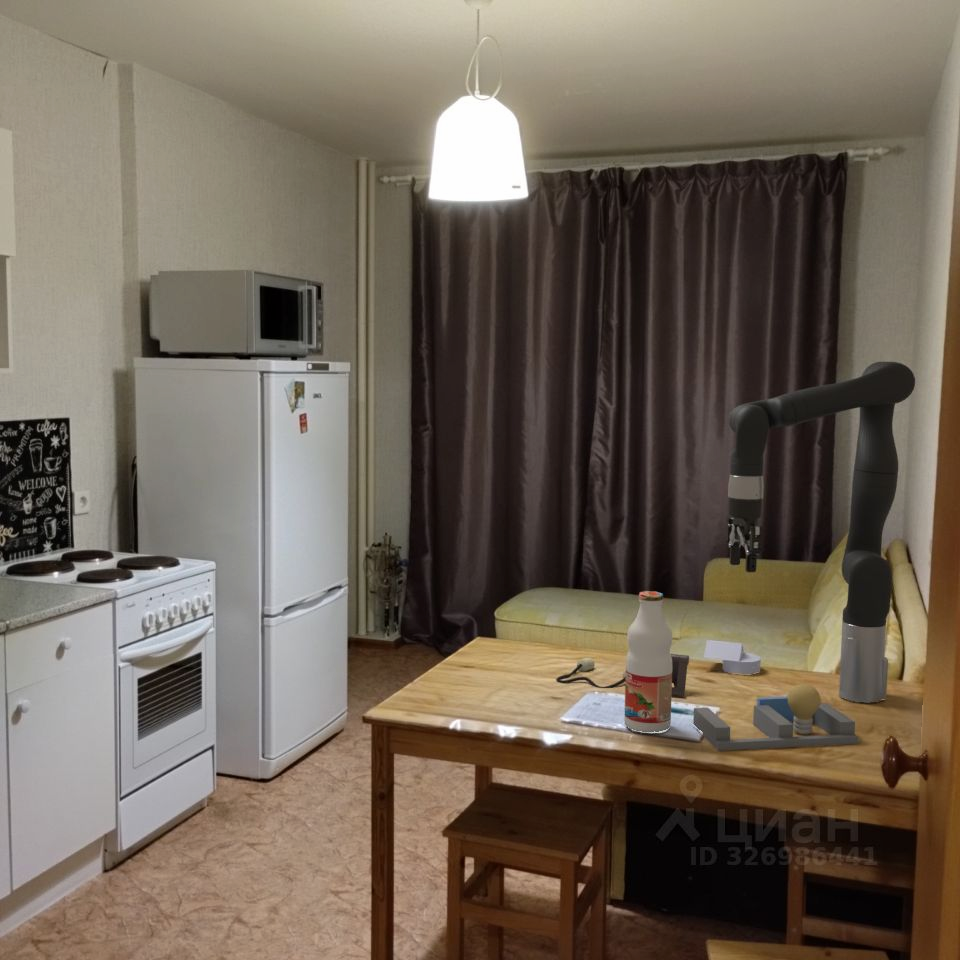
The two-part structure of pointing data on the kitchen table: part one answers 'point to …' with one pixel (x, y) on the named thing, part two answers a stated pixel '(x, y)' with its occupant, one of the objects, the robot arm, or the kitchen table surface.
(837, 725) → the gray e-shaped frame
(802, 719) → the light bulb
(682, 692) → the portable electronic device stand
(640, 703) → the fruit juice
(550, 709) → the kitchen table surface
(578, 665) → the cable
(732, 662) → the wedge on round base
